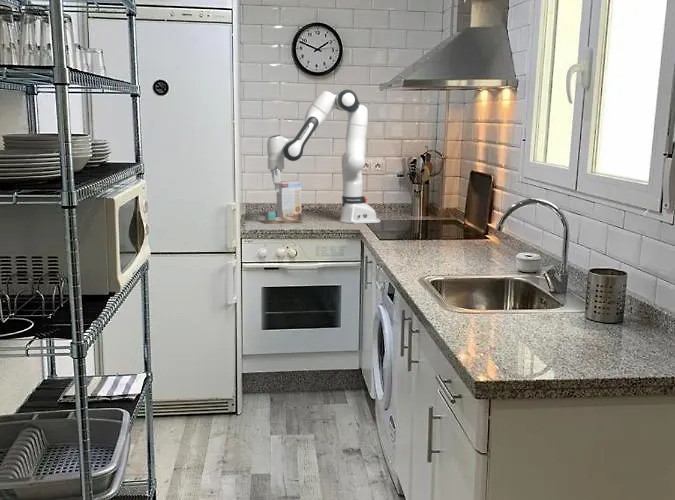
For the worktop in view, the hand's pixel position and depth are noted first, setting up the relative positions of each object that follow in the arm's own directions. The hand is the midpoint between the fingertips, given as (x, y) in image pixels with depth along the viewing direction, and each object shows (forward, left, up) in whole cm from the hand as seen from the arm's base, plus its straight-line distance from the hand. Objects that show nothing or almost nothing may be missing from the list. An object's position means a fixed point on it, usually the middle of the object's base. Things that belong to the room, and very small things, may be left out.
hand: (277, 191), depth 381 cm
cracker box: (-8, -21, -17) cm, 28 cm away
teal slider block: (+3, -2, -16) cm, 16 cm away
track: (-3, -2, -17) cm, 18 cm away
